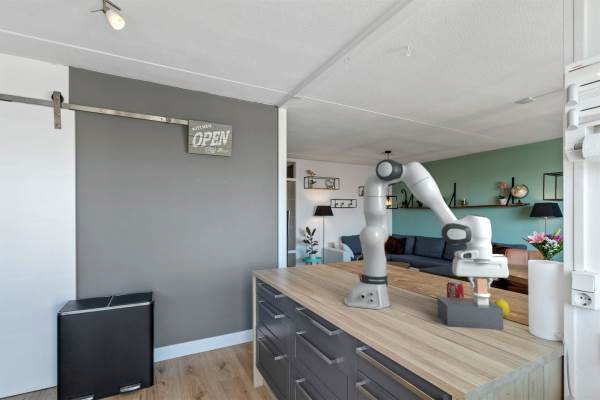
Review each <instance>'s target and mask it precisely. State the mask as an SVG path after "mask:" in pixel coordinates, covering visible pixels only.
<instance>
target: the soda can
mask: <svg viewBox="0 0 600 400" xmlns="http://www.w3.org/2000/svg"><path fill="white" fill-rule="evenodd" d="M464 292H465V291H464V285H463V283H462V281H460V280H453V279H451V280H450V279H449V280H448V281H447V283H446V297H449V298H465V294H464Z"/></svg>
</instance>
